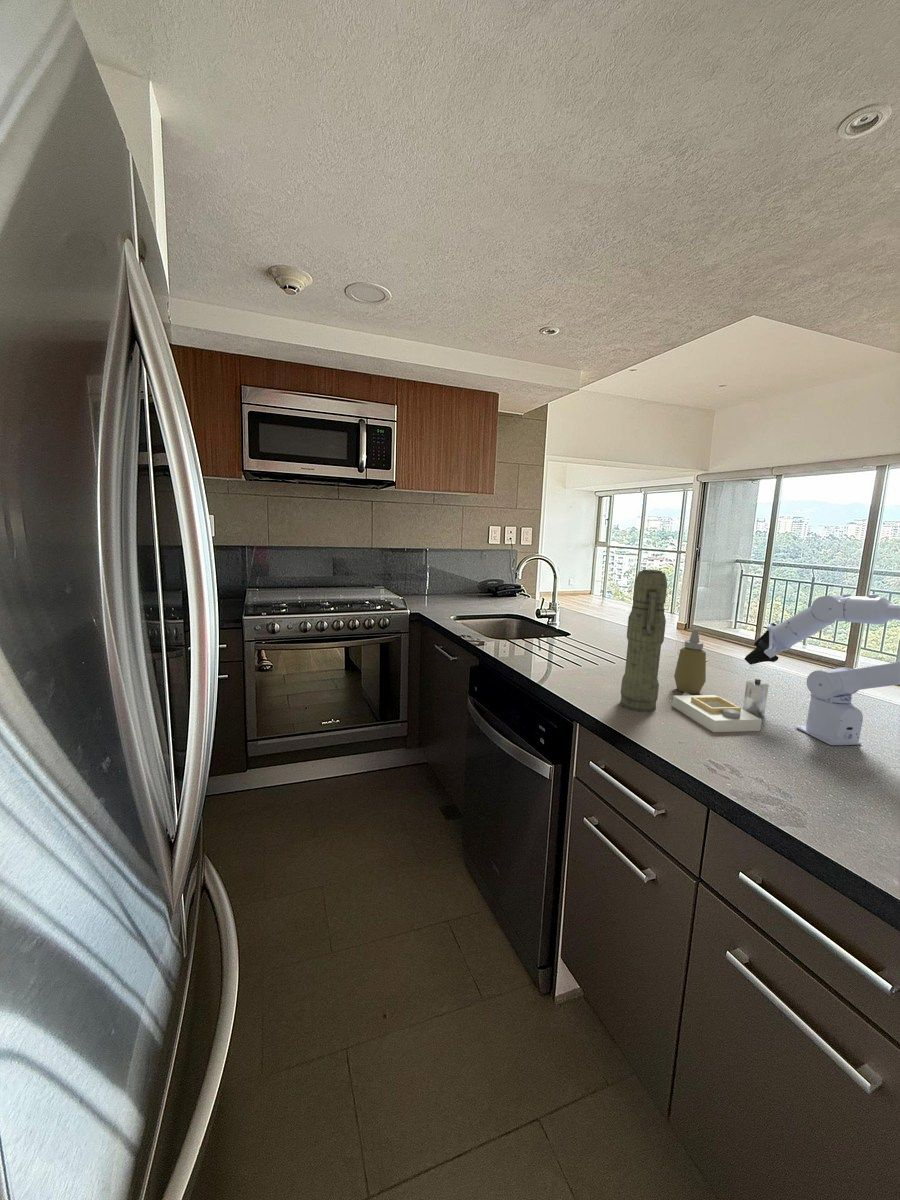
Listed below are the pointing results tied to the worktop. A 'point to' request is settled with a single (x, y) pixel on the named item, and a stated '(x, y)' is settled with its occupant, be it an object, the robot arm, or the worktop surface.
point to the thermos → (644, 642)
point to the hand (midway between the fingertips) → (752, 653)
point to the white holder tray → (716, 713)
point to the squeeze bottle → (691, 666)
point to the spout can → (755, 697)
